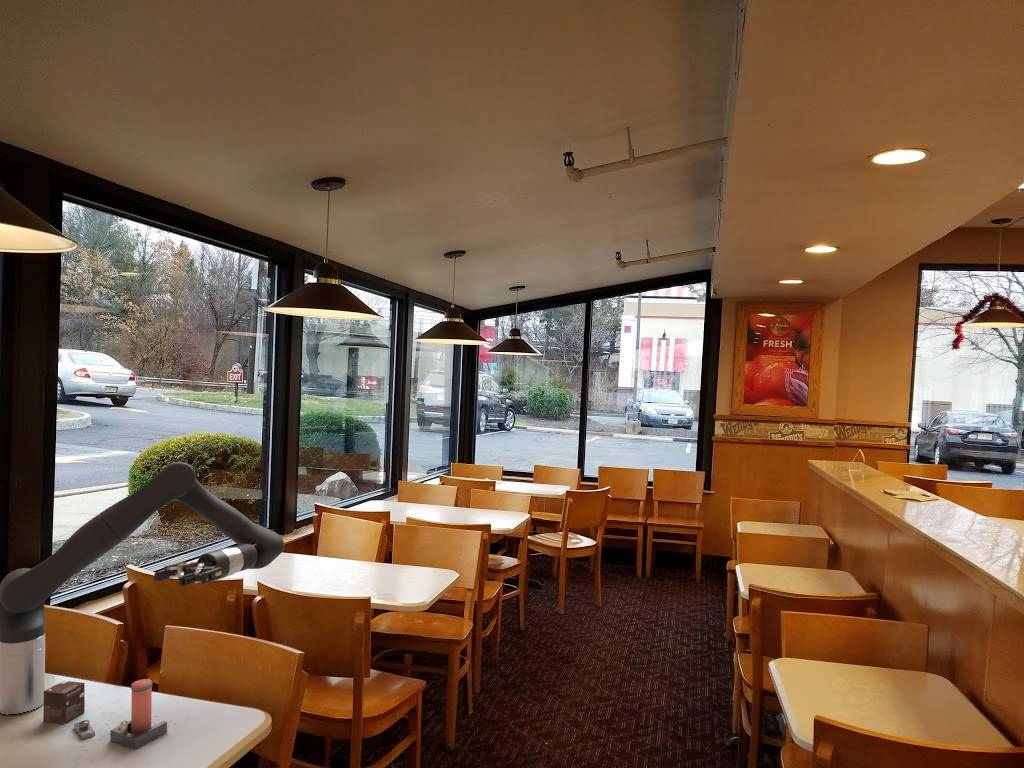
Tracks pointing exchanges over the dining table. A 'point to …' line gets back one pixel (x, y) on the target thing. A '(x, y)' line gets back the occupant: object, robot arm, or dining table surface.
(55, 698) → the box
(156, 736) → the bracket
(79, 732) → the plate
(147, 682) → the post
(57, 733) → the dining table surface
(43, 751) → the dining table surface
